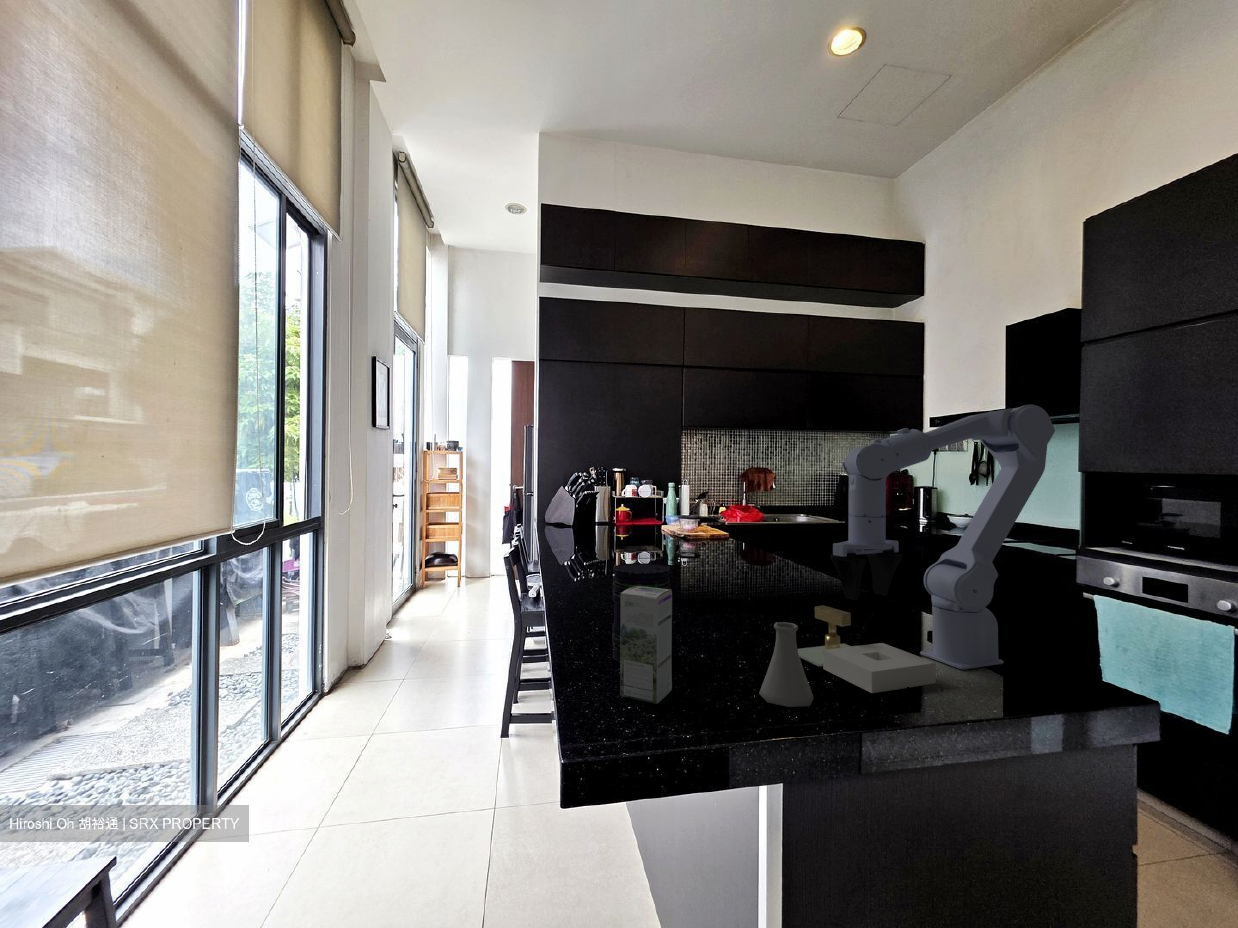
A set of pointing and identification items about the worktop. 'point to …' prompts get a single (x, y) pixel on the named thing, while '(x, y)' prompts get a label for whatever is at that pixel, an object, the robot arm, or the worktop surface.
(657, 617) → the syrup box
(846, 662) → the block
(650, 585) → the storage jar
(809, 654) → the mat
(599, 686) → the worktop surface
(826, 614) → the t key
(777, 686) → the flask
